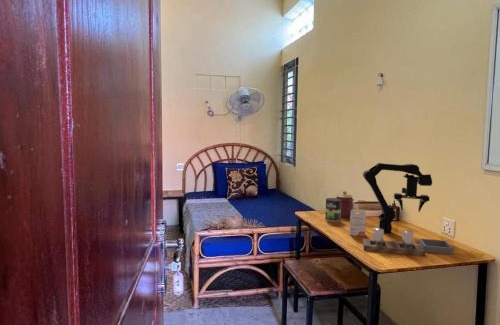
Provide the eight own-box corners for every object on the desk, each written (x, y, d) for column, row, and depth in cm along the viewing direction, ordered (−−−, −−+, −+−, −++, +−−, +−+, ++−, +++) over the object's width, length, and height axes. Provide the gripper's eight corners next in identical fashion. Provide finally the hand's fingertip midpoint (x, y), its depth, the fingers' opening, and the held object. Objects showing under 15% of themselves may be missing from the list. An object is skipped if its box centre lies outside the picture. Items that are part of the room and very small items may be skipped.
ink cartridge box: (365, 234, 205) (366, 209, 204) (364, 236, 200) (366, 211, 199) (349, 232, 208) (351, 208, 207) (349, 235, 203) (350, 210, 202)
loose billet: (400, 250, 177) (401, 231, 177) (403, 248, 181) (404, 229, 180) (410, 253, 174) (411, 233, 173) (413, 250, 178) (414, 231, 177)
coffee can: (337, 222, 231) (338, 201, 230) (322, 220, 237) (323, 199, 235) (342, 219, 239) (343, 199, 238) (328, 217, 245) (329, 197, 244)
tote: (423, 251, 177) (424, 245, 176) (418, 243, 189) (419, 238, 189) (452, 254, 173) (453, 248, 173) (445, 246, 186) (445, 240, 186)
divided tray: (363, 250, 177) (364, 245, 177) (362, 243, 189) (363, 238, 188) (424, 256, 170) (425, 251, 170) (419, 248, 181) (420, 243, 181)
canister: (349, 218, 243) (351, 193, 241) (331, 215, 250) (332, 191, 248) (355, 215, 253) (356, 190, 252) (338, 212, 260) (338, 188, 259)
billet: (372, 249, 179) (373, 230, 178) (372, 246, 184) (373, 227, 183) (383, 250, 178) (384, 230, 177) (382, 247, 183) (383, 228, 182)
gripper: (426, 184, 213) (424, 209, 214) (393, 182, 217) (391, 207, 219) (430, 187, 202) (428, 213, 203) (395, 185, 207) (394, 211, 208)
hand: (410, 211), depth 209 cm, fingers open, 9 cm apart
